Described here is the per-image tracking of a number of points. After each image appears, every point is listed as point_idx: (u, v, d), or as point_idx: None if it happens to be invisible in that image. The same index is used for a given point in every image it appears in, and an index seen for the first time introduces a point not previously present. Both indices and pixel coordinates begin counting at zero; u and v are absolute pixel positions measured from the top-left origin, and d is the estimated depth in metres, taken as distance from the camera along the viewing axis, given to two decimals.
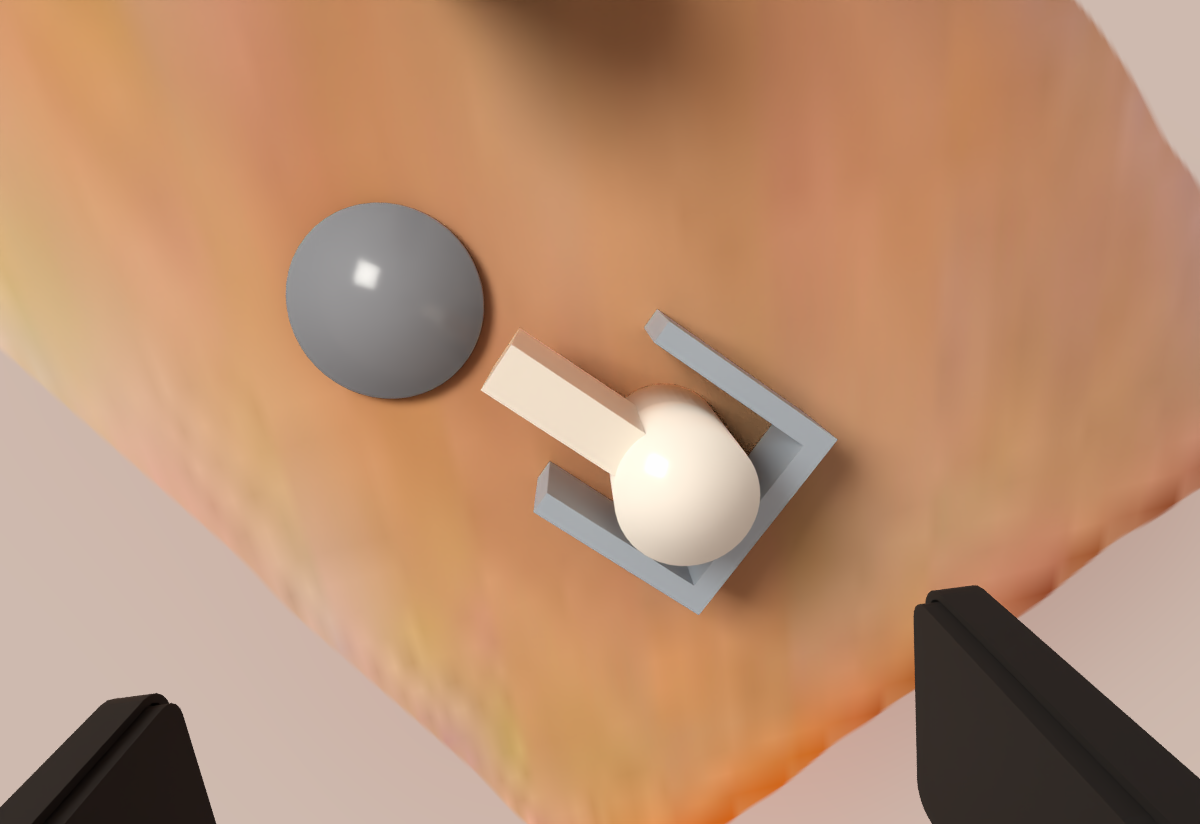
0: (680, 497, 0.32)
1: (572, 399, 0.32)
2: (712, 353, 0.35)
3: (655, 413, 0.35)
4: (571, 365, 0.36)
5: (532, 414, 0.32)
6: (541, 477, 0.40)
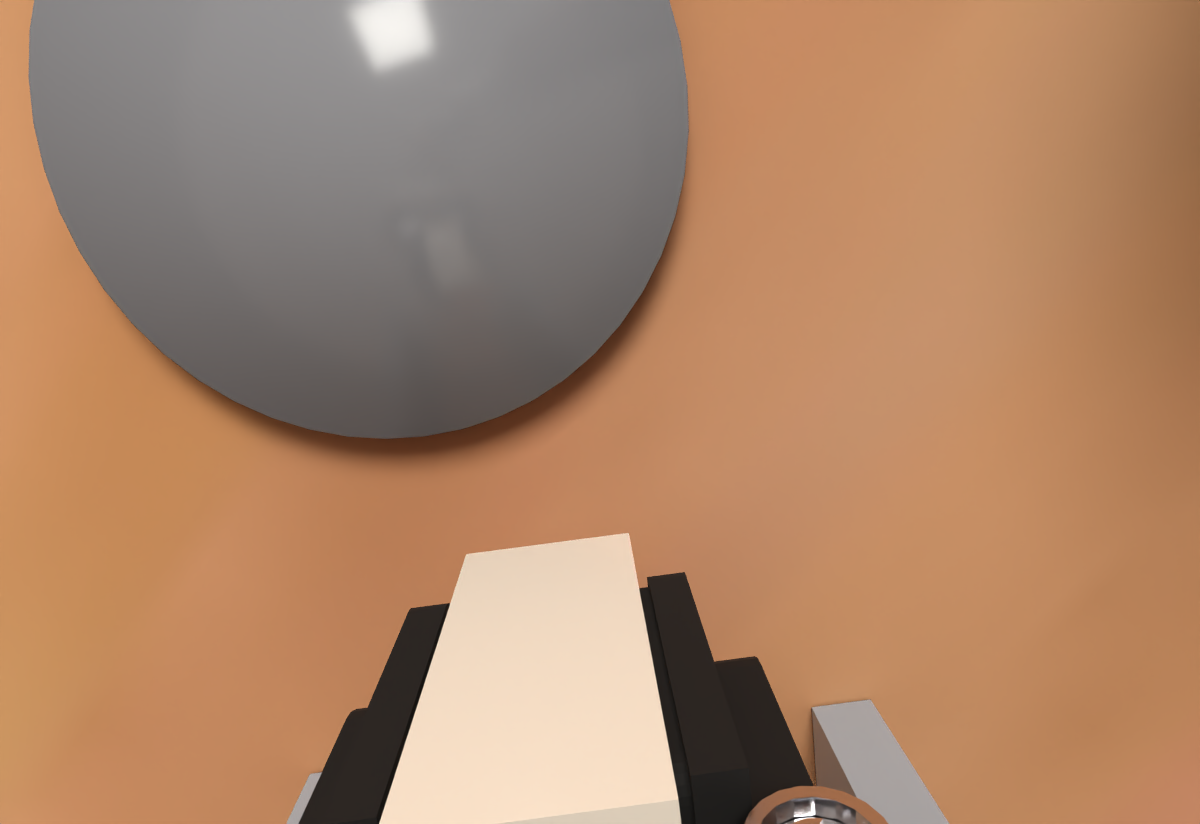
0: None
1: None
2: None
3: None
4: None
5: None
6: None
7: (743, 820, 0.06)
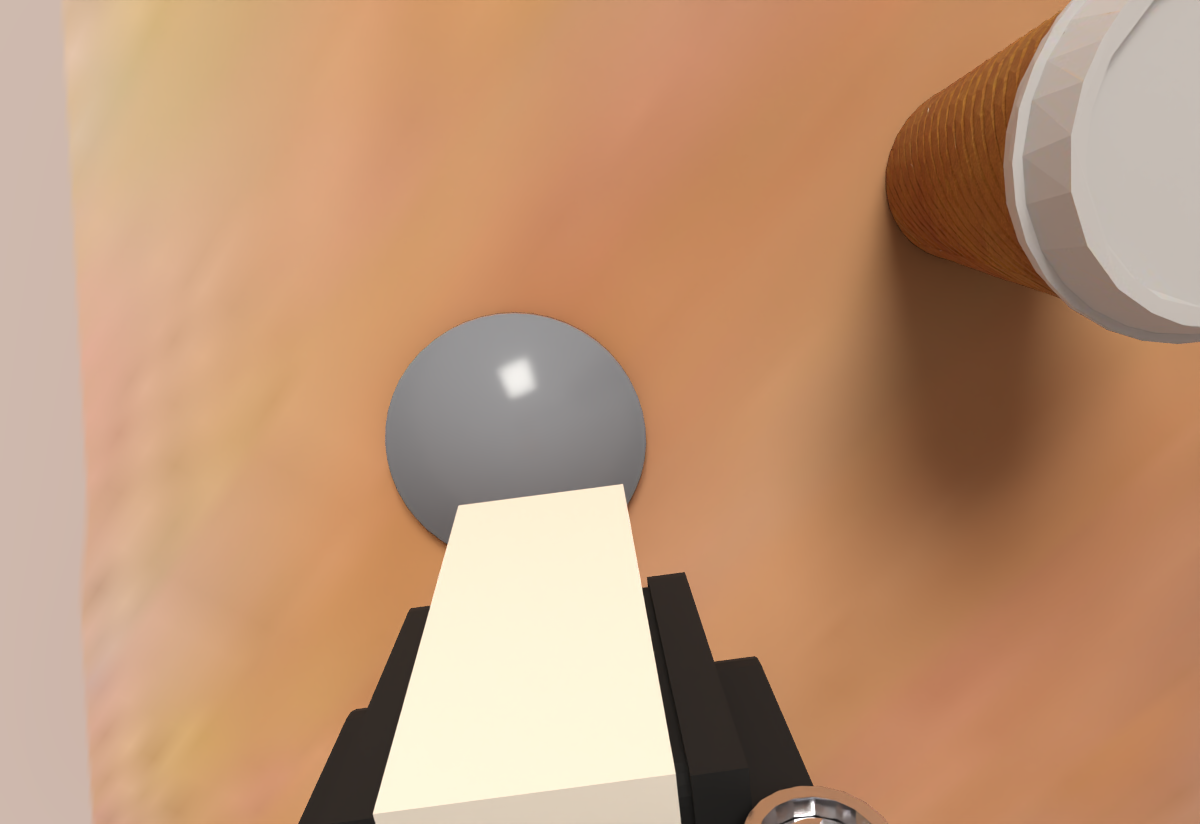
0: None
1: None
2: None
3: None
4: None
5: None
6: None
7: (743, 820, 0.06)
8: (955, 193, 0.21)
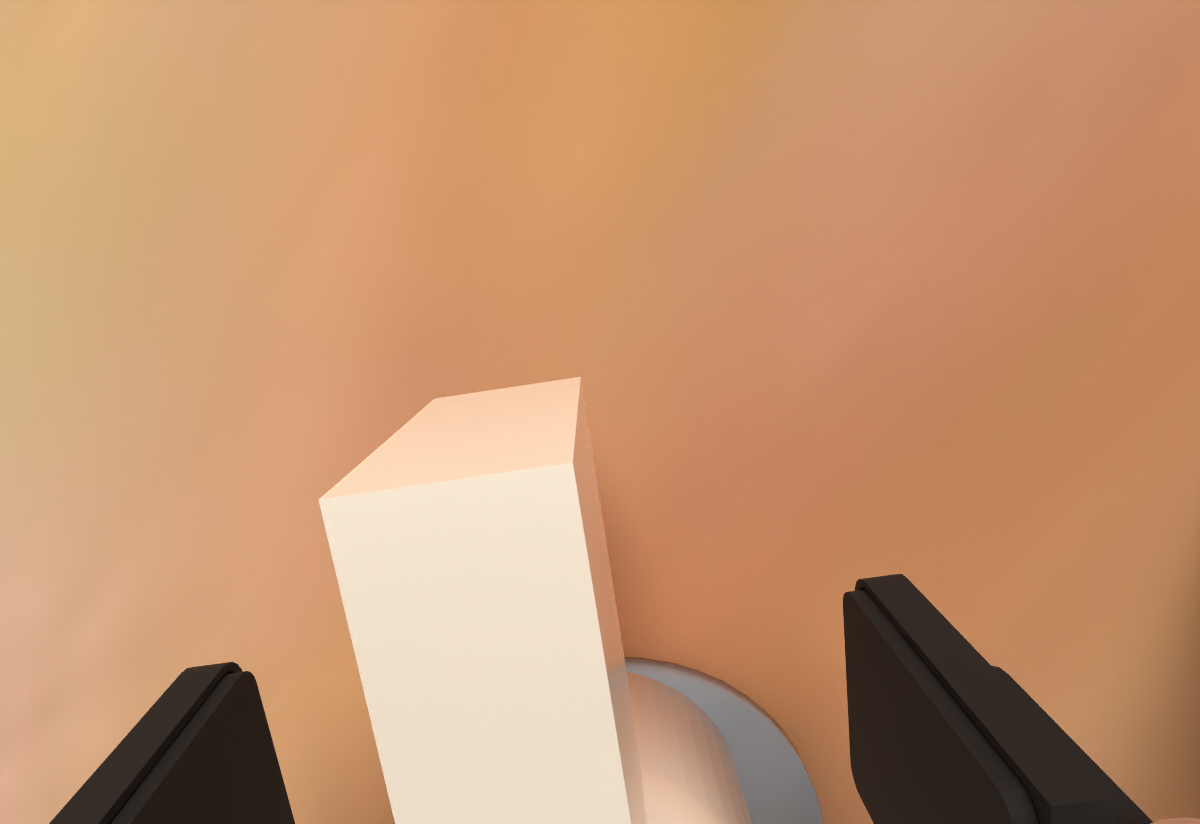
0: None
1: (577, 795, 0.08)
2: None
3: None
4: (609, 574, 0.12)
5: (406, 724, 0.07)
6: None
7: None
8: None
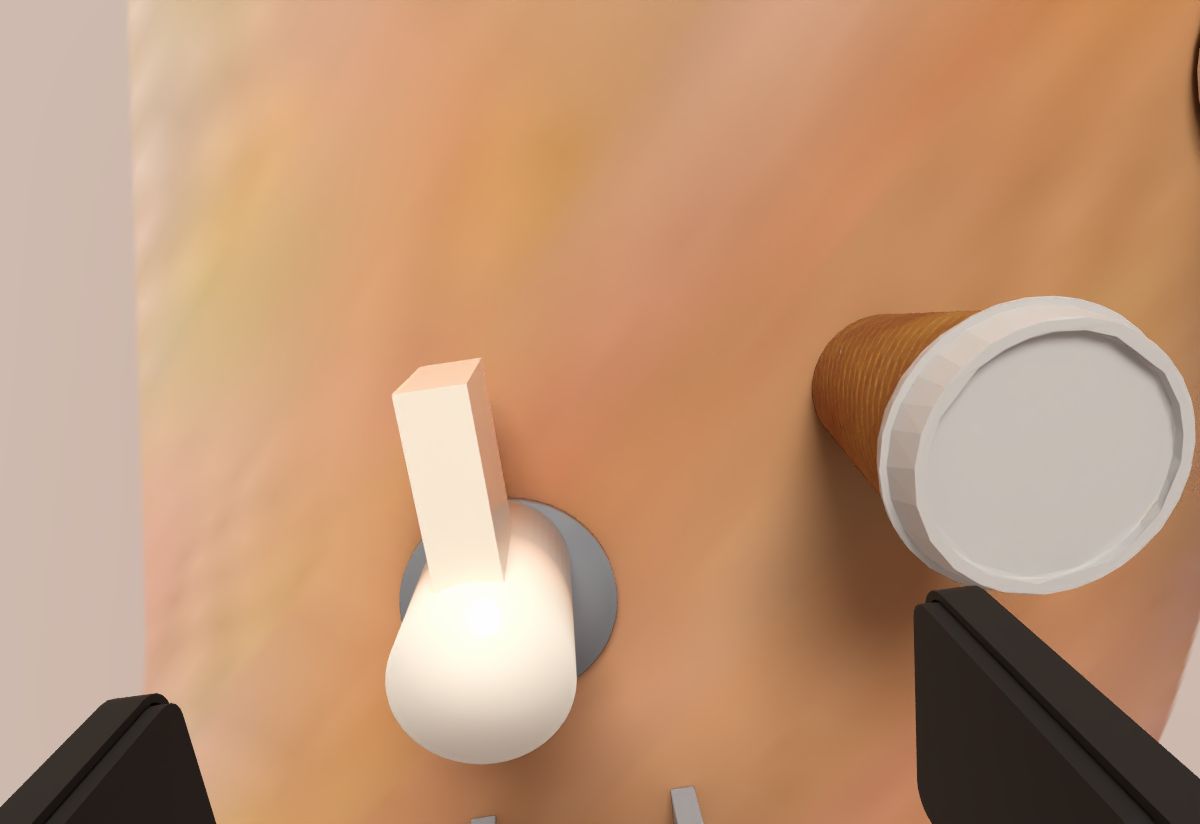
0: (477, 675, 0.25)
1: (470, 488, 0.24)
2: None
3: (526, 561, 0.27)
4: (493, 439, 0.28)
5: (417, 465, 0.24)
6: None
7: None
8: (853, 446, 0.27)
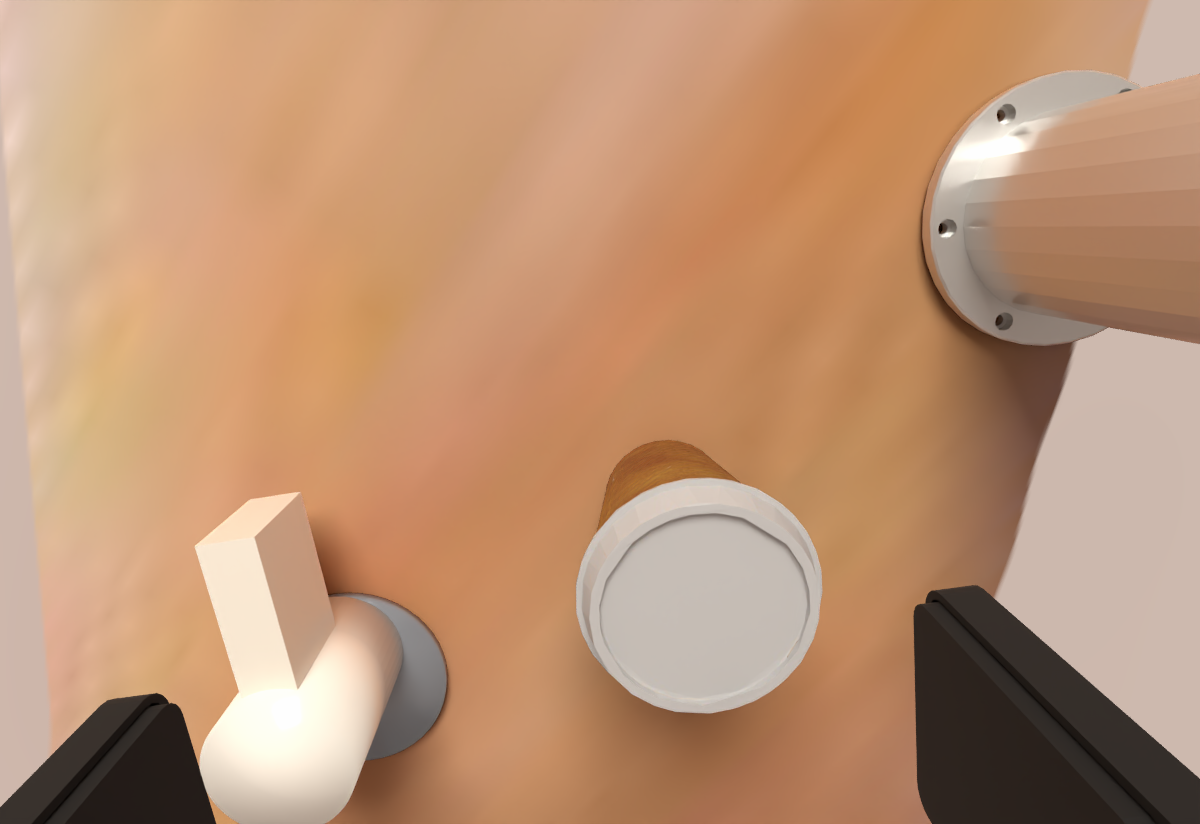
0: (274, 765, 0.31)
1: (264, 617, 0.30)
2: None
3: (331, 664, 0.33)
4: (310, 559, 0.34)
5: (219, 599, 0.30)
6: None
7: None
8: None
